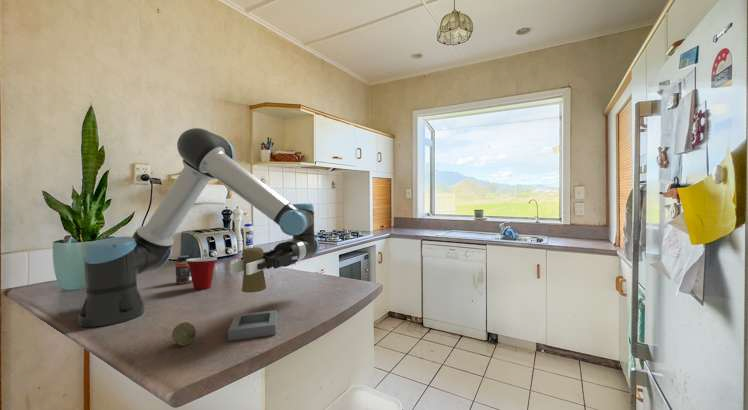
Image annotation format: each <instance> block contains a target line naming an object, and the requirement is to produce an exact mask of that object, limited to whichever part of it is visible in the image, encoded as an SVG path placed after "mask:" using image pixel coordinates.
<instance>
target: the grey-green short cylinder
mask: <svg viewBox="0 0 748 410" xmlns="http://www.w3.org/2000/svg"><path fill="white" fill-rule="evenodd" d="M196 334H197V331H196V328H195V325H194V324H192V323H190V322H186V321H185V322H180V323H179V324H178V325H176V326H175V327H174V328H173V331H172V333H171V338H172V340H173V342H174V344H177V345H178V346H182V347H183V346H187V345H189V344H190V343H191V342H193V340H194V338H196Z"/></svg>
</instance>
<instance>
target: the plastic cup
mask: <svg viewBox="0 0 748 410" xmlns="http://www.w3.org/2000/svg"><path fill="white" fill-rule="evenodd" d="M217 260H218V258H217V257H211V256H210V257H197V258H195V257H194V258H193V257H192V258H189V259H187V260H186V261H187V262H188V265H189V269H190V274H191V278H192V282H191V283H192V286H193V289H194V290H195V291H203V290H208V289H211V286H212V281H213V276H214V270H215V265H216V262H217Z"/></svg>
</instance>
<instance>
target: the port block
mask: <svg viewBox="0 0 748 410" xmlns="http://www.w3.org/2000/svg"><path fill="white" fill-rule="evenodd" d="M277 325H278V310H277V309H273V310H265V311H256V312H247V313H237V314H234V317H233V320H232V321H231V323H230V325H229V328H228V330H227V336H228V337H227V339H228V340H227V341H228V342H229V341H236V340H237V341H239V340H244V339H245V340H246V339H252V338H253V339H254V338H260V337H267V336H273V335H274V336H276V335H277Z"/></svg>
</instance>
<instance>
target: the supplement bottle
mask: <svg viewBox="0 0 748 410" xmlns="http://www.w3.org/2000/svg"><path fill="white" fill-rule="evenodd" d="M187 259H190V256H189V255H180V256H178V257H177V261H176V262H175V283H176V284H177V285H185V284H189V283H193V282H192V278H191V274H190V269H189V265H188V262H187V261H186V260H187Z"/></svg>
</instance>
